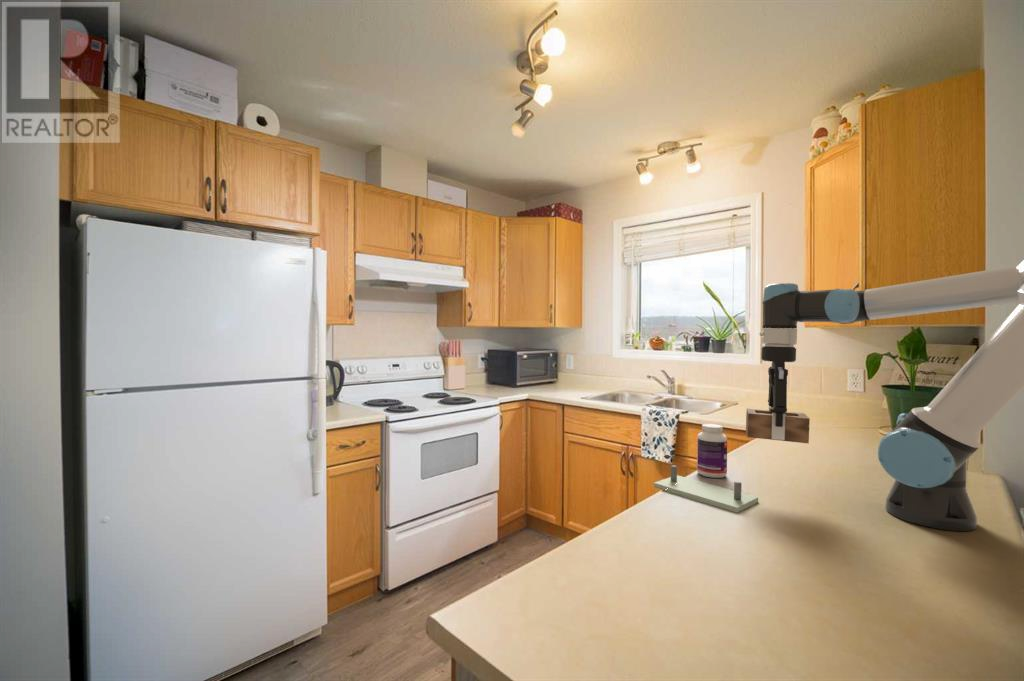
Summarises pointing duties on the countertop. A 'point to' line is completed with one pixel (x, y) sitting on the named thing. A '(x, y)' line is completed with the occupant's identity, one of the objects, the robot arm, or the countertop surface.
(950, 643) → the countertop surface
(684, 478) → the green board with pegs
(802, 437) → the frame
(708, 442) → the pill bottle
